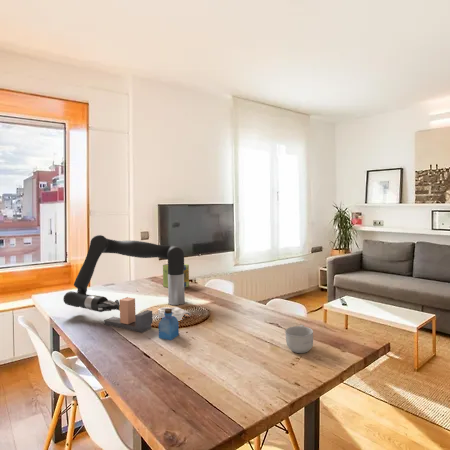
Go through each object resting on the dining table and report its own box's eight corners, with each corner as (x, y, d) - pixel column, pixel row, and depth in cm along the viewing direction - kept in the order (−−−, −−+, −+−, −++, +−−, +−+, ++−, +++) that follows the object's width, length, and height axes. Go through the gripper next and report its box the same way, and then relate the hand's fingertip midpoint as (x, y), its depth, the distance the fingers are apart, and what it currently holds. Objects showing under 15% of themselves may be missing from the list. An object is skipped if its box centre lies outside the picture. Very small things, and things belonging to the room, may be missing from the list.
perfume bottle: (178, 335, 152) (178, 308, 152) (170, 340, 147) (170, 312, 146) (167, 333, 155) (166, 306, 154) (158, 338, 149) (158, 310, 149)
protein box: (179, 289, 232) (179, 266, 231) (162, 286, 240) (162, 264, 239) (189, 286, 241) (189, 264, 240) (172, 283, 249) (172, 262, 248)
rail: (102, 324, 166) (102, 308, 165) (115, 319, 173) (114, 304, 173) (141, 333, 155) (140, 315, 154) (152, 327, 162) (152, 310, 161)
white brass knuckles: (194, 319, 174) (168, 325, 165) (176, 310, 189) (151, 316, 179) (194, 312, 174) (168, 318, 165) (175, 304, 188) (151, 309, 179)
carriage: (118, 322, 163) (117, 299, 162) (125, 319, 167) (125, 296, 167) (128, 324, 160) (127, 301, 159) (135, 321, 165) (135, 298, 164)
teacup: (307, 358, 128) (308, 337, 128) (280, 352, 134) (280, 332, 134) (319, 345, 140) (319, 325, 140) (293, 339, 146) (293, 321, 145)
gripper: (85, 299, 167) (111, 303, 159) (106, 292, 179) (131, 296, 170) (85, 314, 167) (111, 319, 159) (106, 306, 179) (131, 311, 171)
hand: (121, 307), depth 165 cm, fingers closed
